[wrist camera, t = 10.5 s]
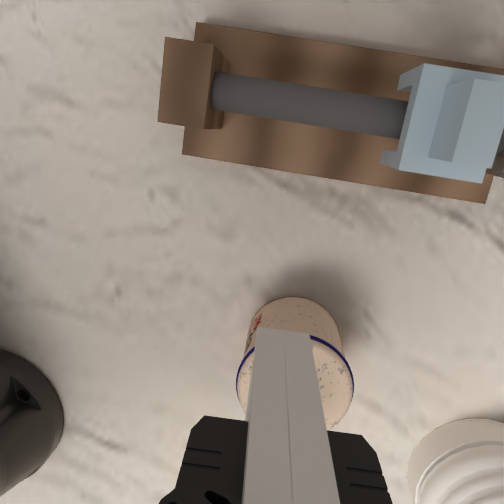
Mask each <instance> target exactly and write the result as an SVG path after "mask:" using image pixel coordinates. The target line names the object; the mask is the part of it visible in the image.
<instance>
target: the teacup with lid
mask: <svg viewBox="0 0 504 504" xmlns="http://www.w3.org/2000/svg"><path fill="white" fill-rule="evenodd" d="M257 327H263V328H270V329H278V330H285V331H293V332H300V333H308V334H309V335H310V340H311V346H312V351H313V357H314V362H315V368H316V373H317V379H318V384H319V390H320V395H321V401H322V406H323V412H324V417H325V423H326V428H327V431H329V430H330V429H332V428H333V427H334V426H335V425H337V424H338V423H339V422H340V421H341V419H342V418H343V417H344V416H345V414H346V412H347V411H348V409H349V406H350V404H351V401H352V397H353V392H354V381H353V375H352V372H351V369H350V367H349V365H348V363H347V361H346V359H345V356H344V352H343V348H342V344H341V340H340V336H339V332H338V328H337V326H336V323H335V321H334V320H333V318H332V316H331V315H330V314H329V313H328V312H327V310H325V309H324V308H323V307H322V306H320V305H319V304H317V303H315V302H313V301H311V300H308V299H304V298H299V297H287V298H281V299H278V300H275V301H273V302H271V303H269V304H267V305H266V306H264V307H263V308H262V309H261V310H260V311H259V312H258V313H257V314H256V315H255V317H254V318H253V320H252V322H251V325H250V327H249V331H248V337H247V342H246V347H245V352H244V357H243V360H242V362H241V364H240V367H239V369H238V373H237V378H236V390H237V395H238V399H239V401H240V404H241V406H242V408H243V410H244V412H245V413H246V408H247V400H248V393H249V386H250V378H251V371H252V364H253V357H254V349H255V342H256V335H257Z"/></svg>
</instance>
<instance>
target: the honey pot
mask: <svg viewBox="0 0 504 504" xmlns="http://www.w3.org/2000/svg"><path fill="white" fill-rule="evenodd" d="M406 477H407V481H408V486H409V490H410V493H411V496H412V499H413V502H414V504H504V423H502V422H498V421H494V420H490V419H477V418H469V419H463V420H458V421H453V422H450V423H448V424H445V425H443V426H441V427H438V428H436V429H435V430H433V431H432V432H431V433H429V434H428V435H427V436H425V437H424V438H423V439H422V440H421V441H420V442H419V444H418V445H417V446H416V447H415V448H414V450H413V452H412V454H411V457H410V459H409V461H408V465H407V476H406Z"/></svg>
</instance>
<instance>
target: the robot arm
mask: <svg viewBox="0 0 504 504" xmlns="http://www.w3.org/2000/svg"><path fill="white" fill-rule="evenodd" d="M62 430H63V413H62V408H61V405H60V402H59V399H58V397H57V395H56V393H55V391H54V389H53V387H52V386H51V384H50V383H49V382H48V380H47V379H46V378H45V377H44V376H43V375H42V374H41V373H40V372H39V371H38V370H37V369H36V368H35V367H33V366H32V365H31V364H30V363H28V362H27V361H25V360H23V359H22V358H20V357H18V356H16V355H14V354H11V353H9V352H6V351H3V350H0V496H2V495H3V494H4V493H6V492H7V491H9V490H10V489H11V488H13V487H14V486H15V485H17V484H18V483H19V482H21V481H23V480H24V479H26V478H28V477H29V476H31V475H32V474H34V473H35V472H36V471H37V470H38V469H40V468H41V467H42V465H43V464H44V463H45V462H46V460H47V459H48V458H49V456H50V455H51V454H52V452H53V451H54V450H55V448H56V446H57V445H58V443H59V441H60V438H61V435H62ZM387 489H388V488H387V485H386V482H385V479H384V476H382V469H381V466H380V463H379V460H378V457H377V454H376V452H375V451H374V450H373V448H372V447H371V446H370V445H369V444H368V442H367V441H366V440H365V439H364V438H363V436H362V435H357V434H349V433H342V432H334V431H327V428H326V423H325V417H324V412H323V406H322V401H321V395H320V390H319V384H318V379H317V373H316V368H315V362H314V357H313V351H312V346H311V340H310V335H309V334H308V333H300V332H293V331H285V330H278V329H270V328H263V327H257V335H256V342H255V349H254V357H253V364H252V371H251V378H250V386H249V393H248V400H247V408H246V418H245V421H241V420H233V419H226V418H219V417H211V416H204V417H203V418H202V419H201V420H200V421H199V422H198V423H197V424H196V425H195V426H194V427H193V428H192V429H191V432H190V436H189V439H188V443H187V447H186V451H185V454H184V457H183V461H182V466H181V468H180V472H179V476H178V479H177V483H176V487H175V489H174V490H173V491H171V492H170V493H169V494H167V495H166V496H165V497H164V498H162V499H161V501H160V502H159V504H392V500H391V497H390V494H389V493H388V492H387Z"/></svg>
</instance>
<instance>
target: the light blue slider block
mask: <svg viewBox="0 0 504 504" xmlns="http://www.w3.org/2000/svg"><path fill="white" fill-rule="evenodd" d="M397 90H400V91H406V92H411V94H410V98H409V102H408V106H407V110H406V114H405V119H404V123H403V127H402V131H401V135H400V139H399V144H398V148H397V151H392V150H386V149H383V152H382V157H381V161H380V163H381V164H384V165H386V166H389V167H392V168H394V169H397V170H401V171H407V172H413V173H419V174H426V175H432V176H438V177H444V178H450V179H456V180H463V181H469V182H475V183H481V184H482V182H483V179H484V175H485V172H486V168H490V169H491V168H492V165H493V162H494V159H495V155H496V152H497V149H498V145H499V142H500V139H501V135H502V132H503V129H504V75H497V74H491V73H484V72H478V71H471V70H465V69H458V68H452V67H445V66H439V65H432V64H426V63H424V64H422V65H420V66H418V67H416V68H413V69H411V70H409V71H407V72H405V73H403V74H401V75H400V79H399V83H398V87H397Z"/></svg>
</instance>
